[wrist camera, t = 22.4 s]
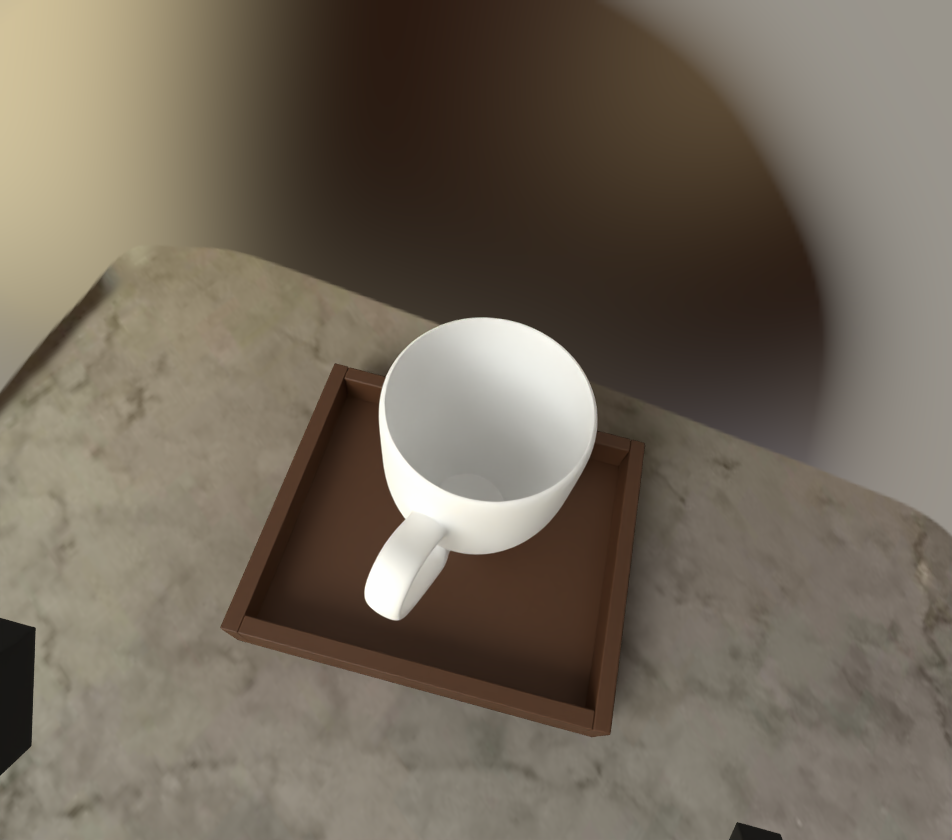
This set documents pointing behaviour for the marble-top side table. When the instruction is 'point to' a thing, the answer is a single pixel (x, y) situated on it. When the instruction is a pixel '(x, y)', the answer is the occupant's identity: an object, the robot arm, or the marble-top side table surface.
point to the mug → (475, 448)
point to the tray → (445, 579)
